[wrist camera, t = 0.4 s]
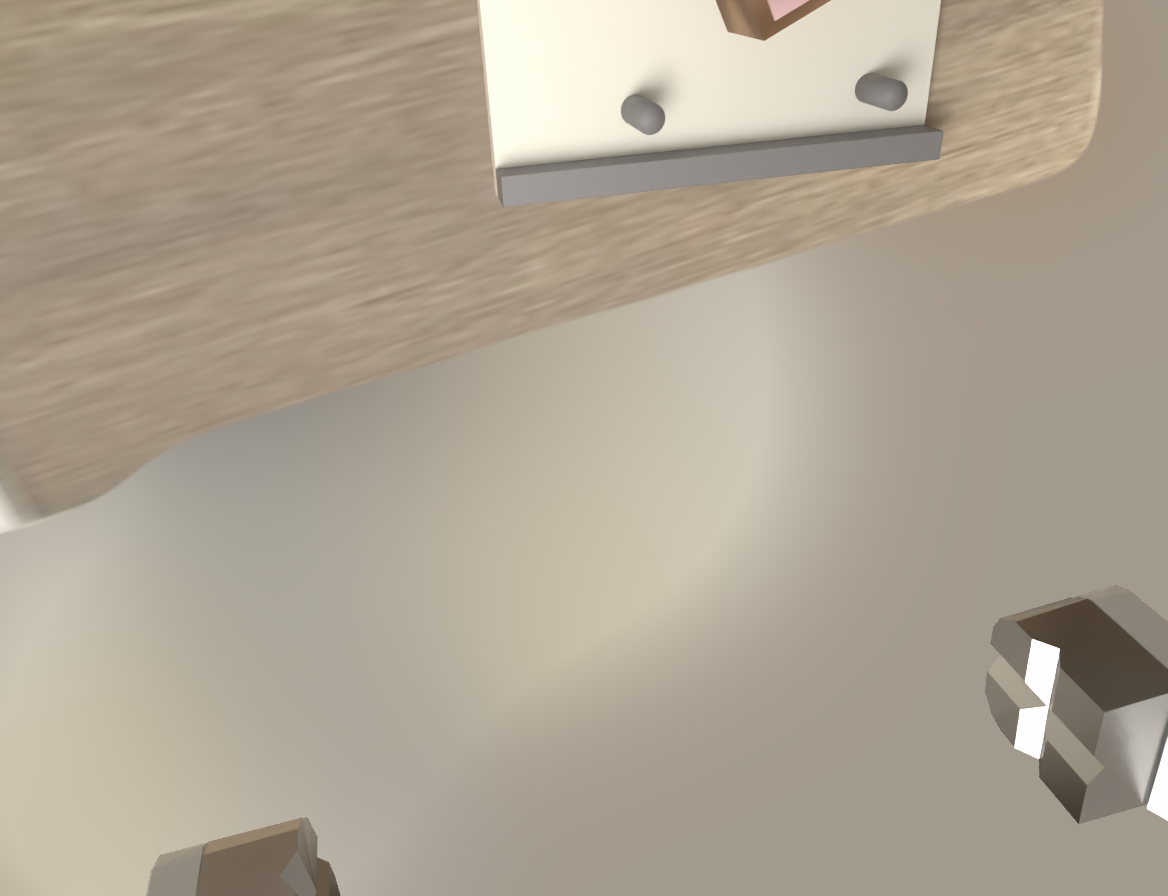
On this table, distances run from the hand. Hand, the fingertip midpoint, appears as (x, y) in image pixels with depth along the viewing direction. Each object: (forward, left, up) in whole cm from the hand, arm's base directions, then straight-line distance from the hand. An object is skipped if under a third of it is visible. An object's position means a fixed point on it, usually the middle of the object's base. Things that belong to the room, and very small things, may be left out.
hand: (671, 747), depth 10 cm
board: (-5, +17, -45) cm, 49 cm away
